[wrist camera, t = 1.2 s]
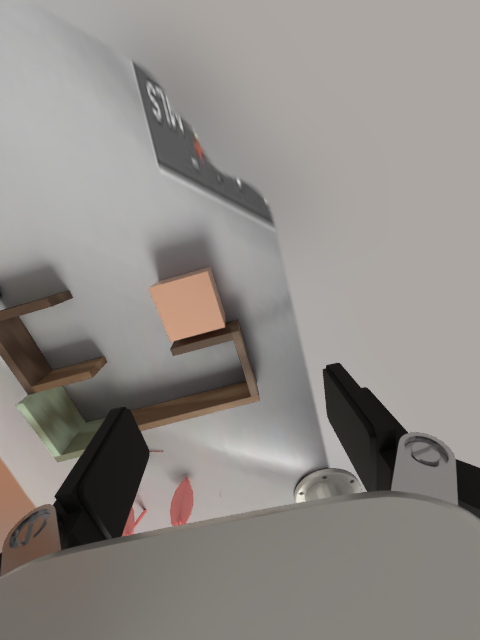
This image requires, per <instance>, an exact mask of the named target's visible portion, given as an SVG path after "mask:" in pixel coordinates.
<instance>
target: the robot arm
mask: <svg viewBox="0 0 480 640" xmlns="http://www.w3.org/2000/svg"><path fill="white" fill-rule="evenodd" d="M323 378H324V389H325V399H326V409H327V416H328V419H329V422H330V424H331V425H332V427H333V429H334V431H335V433H336V435H337V437H338V438H339V440H340V442H341V444H342V446H343V448H344V449H345V451H346V453H347V455H348V457H349V459H350V461H351V463H352V464H353V466H354V468H355V470H356V472H357V474H358V476H359V477H360V479H361V481H362V483H363V485H364V487H365V489H366V490H367V492H361V490H362V489H361V486H360V484H359V482H358V480H357V478H356V477H355V476H354V475H353V474H351V473H350V472H348V471H346V470H342V469H336V468H329V469H322V470H319V471H316V472H313V473H311V474H309V475H308V476H306V477H305V478H304V479H303V480H302V481H301V482H300V483H299V484H298V486H297V487H296V490H295V493H294V498H295V502H296V503H294V504H289V505H283V506H278V507H273V508H267V509H262V510H257V511H251V512H246V513H241V514H235V515H230V516H225V517H220V518H214V519H209V520H204V521H199V522H194V523H188V524H183V525H178V526H173V527H168V528H163V529H158V530H153V531H148V532H143V533H138V534H133V535H128V536H123V537H122V534H123V531H124V528H125V525H126V522H127V519H128V517H129V514H130V511H131V508H132V505H133V502H134V499H135V496H136V494H137V491H138V488H139V485H140V482H141V479H142V476H143V473H144V471H145V468H146V465H147V462H148V459H149V449H148V446H147V444H146V442H145V440H144V438H143V436H142V434H141V431H140V429H139V427H138V425H137V423H136V421H135V419H134V416H133V414H132V412H131V410H130V409H127V408H126V407H121V408H116V409H112V410H111V411H110V412H109V414H108V415H107V417H106V418H105V420H104V421H103V423H102V424H101V426H100V428H99V429H98V431H97V432H96V434H95V435H94V437H93V438H92V440H91V441H90V443H89V444H88V446H87V447H86V449H85V450H84V452H83V454H82V455H81V457H80V458H79V460H78V461H77V463H76V464H75V466H74V467H73V469H72V470H71V472H70V473H69V475H68V476H67V478H66V480H65V481H64V483H63V484H62V486H61V487H60V489H59V490H58V492H57V493H56V495H55V496H54V497H55V498H56V499H57V500H56V501H55V503H54V504H53V505H51V504H46V505H42V506H40V507H37V508H36V509H34V510H33V511H31V512H29V513H28V514H27V515H25V516H24V517H23V518H22V519H21V520H20V521H19V522H18V523H17V524H16V525H15V526H14V527H13V528H12V529H11V531H10V532H9V533H8V535H7V537H6V539H5V541H4V544H3V548H2V553H0V640H480V468H478V467H476V466H473V465H470V464H468V463H465V462H462V461H459V460H457V459H455V456H454V454H453V452H452V451H451V449H450V448H449V447H448V446H447V445H446V444H445V443H444V442H442V441H441V440H439V439H437V438H436V437H433V436H430V435H428V434H424V433H419V432H416V433H415V432H413V433H412V432H411V433H408V432H407V431H406V430H405V429H404V428H403V427H402V425H401V424H400V423H399V422H398V421H397V420H396V419H395V418H394V417H393V416H392V414H391V413H390V412H389V411H388V410H387V409H386V408H385V407H384V405H383V404H382V403H381V402H380V401H379V400H378V399H377V398H376V397H375V396H374V394H372V392H371V391H370V390H369V389H368V388H366V387H365V388H360V386H359V385H358V384H357V383H356V382H355V381H354V379H353V378H352V377H351V376H350V375H349V373H348V372H347V371H346V370H345V369H344V368H343V366H342V365H341V364H340V363H335V364H330V365H327V366H326V369H323Z"/></svg>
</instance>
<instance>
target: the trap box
mask: <svg viewBox="0 0 480 640" xmlns="http://www.w3.org/2000/svg"><path fill="white" fill-rule="evenodd" d="M71 298H73V297H72V295H71V293H70V292H69V291H66V292H63V293H59V294H56V295H52V296H49V297H45V298H42V299H39V300H35V301H32V302H28V303H25V304H21V305H18V306H14V307H11V308H7V309H4V310H1V311H0V355H1V357H2V358H3V360H4V361H5V362H6V364H7V365H8V367H9V368H10V370H11V371H12V372H13V374H14V375H15V377H16V378H17V380H18V381H19V382H20V384H21V385H22V387H23V388H24V389H25V391H26V392H27V394H28V396H27V397H25V398H24V399H23V400H22V401H20V402H19V403H18V404H17V405H16V407H17V408H18V409H19V411H20V412H21V413H22V415H23V416H24V417H25V419H26V420H27V421H28V423H29V424H30V425H31V427H32V428H33V429H34V431H35V432H36V434H37V435H38V436H39V438H40V439H41V440H42V442H43V443H44V444H45V446H46V447H47V448H48V450H49V451H50V452H51V454H52V455H53V456H54V458H55V459H56V461H57V462H61V461H65V460H69V459H73V458H77V457H81V455H82V454H83V452H84V450H85V449H86V447H87V446H88V444H89V443H90V441H91V440H92V438H93V437H94V435H95V434H96V432H97V431H98V429H99V428H100V426H101V424H102V423H103V421H104V420H105V418H106V417H105V418H102V419H98V420H94V421H90V422H85V421H84V419H83V417H82V416H81V414H80V413H79V411H78V410H77V408H76V406H75V405H74V403H73V402H72V400H71V399H70V397H69V395H68V394H67V392H66V391H65V389H64V388H63V386H64V385H67V384H71V383H75V382H79V381H82V380H86V379H90V378H93V377H94V376H95V375H96V373H97V372H98V371H99V370H100V369H101V368H102V367H103V366H104V365H105V364H106V363H107V361H106V359H105V357H100V358H96V359H93V360H89V361H85V362H82V363H78V364H74V365H71V366H67V367H63V368H60V369H56V370H52V369H51V367H50V365H49V364H48V362H47V361H46V359H45V358H44V356H43V354H42V353H41V351H40V350H39V348H38V347H37V345H36V343H35V342H34V340H33V339H32V337H31V335H30V334H29V332H28V331H27V329H26V328H25V326H24V324H23V323H22V321H21V320H20V318H19V317H18V316H20V315H24V314H27V313H31V312H34V311H37V310H41V309H44V308H48V307H51V306H54V305H56V304H59V303H61V302H64V301H66V300H69V299H71ZM231 340H234V343H235V346H236V349H237V352H238V356H239V359H240V362H241V365H242V368H243V372H244V375H245V378H246V381H244V382H240V383H236V384H232V385H228V386H225V387H221V388H217V389H213V390H209V391H205V392H202V393H198V394H194V395H190V396H186V397H182V398H178V399H175V400H171V401H167V402H163V403H159V404H155V405H152V406H148V407H144V408H140V409H136V410H132V411H131V412H132V414H133V416H134V419H135V421H136V423H137V425H138V427H139V429H140V431H143V430H147V429H151V428H155V427H159V426H163V425H167V424H171V423H174V422H178V421H182V420H186V419H190V418H194V417H198V416H202V415H206V414H210V413H214V412H218V411H221V410H225V409H229V408H233V407H237V406H241V405H245V404H249V403H253V402H257V401H260V398H259V393H258V387H257V383H256V379H255V376H254V373H253V369H252V366H251V362H250V359H249V356H248V352H247V349H246V345H245V342H244V339H243V335H242V332H241V328H240V325H239V322H238V320H235V321H232V322H228V323H225V327H224V328H220V329H217V330H213V331H209V332H206V333H202V334H198V335H195V336H191V337H187V338H184V339H180V340H176V341H174V343H173V345H172V347H171V349H170V350H171V352H172V355H173V356H175V355H179V354H182V353H186V352H190V351H194V350H197V349H201V348H205V347H208V346H212V345H216V344H220V343H223V342H227V341H231Z"/></svg>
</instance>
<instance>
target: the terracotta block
mask: <svg viewBox="0 0 480 640" xmlns="http://www.w3.org/2000/svg"><path fill="white" fill-rule="evenodd" d="M149 291H150V293H151V296H152V298H153V301H154V303H155V305H156V308H157V310H158V313H159V315H160V318H161V320H162V322H163V325H164V327H165V330H166V332H167V335H168V337H169V339H170V342H173V341H176V340H180V339H184V338H187V337H191V336H195V335H198V334H202V333H206V332H209V331H213V330H217V329H220V328H224V327H225V318H226V316H225V312H224V309H223V306H222V303H221V300H220V296H219V293H218V290H217V287H216V284H215V280H214V277H213V274H212V271H211V268H210V267H207V268H204V269H200V270H197V271H193V272H190V273H186V274H183V275H179V276H176V277H172V278H169V279H165V280H162V281H158V282H157V283H155V284H154V285H152V286H151V287H149Z"/></svg>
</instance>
